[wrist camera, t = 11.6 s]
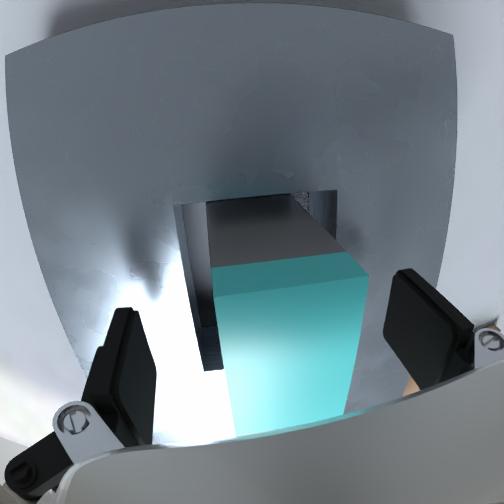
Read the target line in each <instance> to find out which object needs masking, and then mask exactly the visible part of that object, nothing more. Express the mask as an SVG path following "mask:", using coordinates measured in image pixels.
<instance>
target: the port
mask: <svg viewBox="0 0 504 504" xmlns="http://www.w3.org/2000/svg"><path fill="white" fill-rule="evenodd" d="M5 79H6V98H7V111H8V122H9V131H10V139H11V146H12V153H13V159H14V165H15V170H16V176H17V181H18V186H19V191H20V195H21V200H22V204H23V208H24V212H25V216H26V220H27V224H28V228H29V232H30V235H31V239H32V242H33V246H34V249H35V252H36V255H37V259H38V262H39V265H40V268H41V271H42V274H43V277H44V280H45V282H46V285H47V288H48V291H49V293H50V296H51V299H52V301H53V304H54V306H55V309H56V311H57V314H58V316H59V319H60V321H61V323H62V326H63V328H64V330H65V333H66V335H67V337H68V339H69V342H70V344H71V346H72V348H73V350H74V352H75V355H76V357H77V359H78V361H79V363H80V365H81V367H82V369H83V371H84V373H85V375H86V377H87V378H88V375H89V372H90V368H91V365H92V362H93V359H94V356H95V353H96V350H97V348H98V347H99V346H103V344H104V341H105V338H106V335H107V332H108V329H109V326H110V323H111V320H112V317H113V314H114V311H115V309H116V308H121V307H132V308H133V310H138V311H139V314H140V317H141V321H142V324H143V327H144V331H145V334H146V337H147V340H148V343H149V346H150V349H151V352H152V355H153V358H154V361H155V364H156V368H157V384H156V396H155V409H154V424H153V441H152V444H163V443H176V442H189V441H199V440H208V439H217V438H225V437H233V436H241V435H235V429H234V424H233V418H232V413H231V407H230V401H229V395H228V389H227V383H226V377H225V371H224V365H223V358H222V352H221V345H220V339H219V332H218V326H211V327H203V328H202V327H201V322H200V317H199V311H198V306H197V300H196V294H195V289H194V283H193V277H192V271H191V265H190V258H189V252H188V245H187V239H186V232H185V225H184V218H183V211H182V204H189V203H197V202H205V201H214V200H223V199H232V198H242V197H252V196H262V195H273V194H284V193H296V192H309V214H310V215H311V216H312V217H313V218H314V219H315V220H316V221H317V222H318V223H319V224H320V225H321V226H322V227H323V228H324V229H325V230H326V231H327V232H328V233H329V234H330V235H331V236H332V237H333V238H334V239H335V240H336V241H337V242H338V243H339V244H340V245H341V246H342V247H343V248H344V249H345V250H346V251H347V252H348V253H349V254H350V255H351V256H352V258H353V259H354V260H355V261H356V262H357V263H358V264H359V265H360V266H361V267H362V268H363V269H364V270H365V271H366V272H367V273H368V275H369V281H368V289H367V296H366V302H365V309H364V315H363V321H362V327H361V333H360V338H359V344H358V349H357V354H356V359H355V364H354V369H353V374H352V378H351V383H350V387H349V392H348V396H347V400H346V404H345V409H344V413H343V415H344V414H348V413H352V412H355V411H359V410H362V409H366V408H369V407H373V406H376V405H379V404H382V403H385V402H388V401H392V400H395V399H398V398H401V397H402V395H403V393H404V390H405V388H406V385H407V382H408V380H409V377H410V374H409V373H408V371H407V370H406V368H405V367H404V365H403V364H402V363H401V361H400V360H399V358H398V357H397V356H396V354H395V353H394V351H393V350H392V349H391V347H390V346H389V344H388V343H387V342H386V340H385V339H384V336H383V327H384V322H385V317H386V312H387V307H388V301H389V296H390V290H391V284H392V278H393V276H394V275H395V274H396V272H397V271H398V270H402V269H408V268H412V269H414V270H415V271H416V272H417V273H418V274H419V275H420V276H421V277H423V278H424V279H425V280H426V281H427V282H428V283H429V284H430V285H432V286H433V287H434V288H435V289H436V286H437V282H438V277H439V273H440V268H441V263H442V258H443V253H444V248H445V242H446V236H447V230H448V224H449V217H450V210H451V202H452V194H453V185H454V174H455V161H456V144H457V78H456V61H455V49H454V39H453V35H451V34H448V33H445V32H442V31H439V30H436V29H432V28H429V27H426V26H422V25H419V24H415V23H411V22H407V21H403V20H399V19H395V18H390V17H386V16H381V15H376V14H371V13H365V12H359V11H353V10H347V9H339V8H332V7H323V6H313V5H300V4H283V3H228V4H210V5H198V6H188V7H179V8H171V9H164V10H158V11H151V12H146V13H140V14H135V15H130V16H125V17H120V18H116V19H112V20H107V21H103V22H100V23H96V24H92V25H88V26H85V27H81V28H78V29H75V30H71V31H68V32H65V33H62V34H59V35H56V36H53V37H50V38H48V39H45V40H42V41H39V42H37V43H34V44H32V45H29V46H27V47H24V48H22V49H19V50H17V51H15V52H12V53H10V54H8V55H6V56H5ZM340 416H341V415H340ZM336 417H337V416H336ZM332 418H333V417H332ZM328 419H329V418H328ZM324 420H325V419H324ZM320 421H321V420H320ZM315 422H316V421H315ZM311 423H312V422H311ZM306 424H307V423H306ZM302 425H303V424H302ZM297 426H298V425H297ZM292 427H293V426H292ZM287 428H288V427H287ZM281 429H283V428H281ZM276 430H278V429H276ZM270 431H272V430H270ZM264 432H267V431H264ZM257 433H261V432H257ZM251 434H254V433H251ZM244 435H248V434H244Z"/></svg>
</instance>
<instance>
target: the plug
mask: <svg viewBox="0 0 504 504" xmlns="http://www.w3.org/2000/svg"><path fill="white" fill-rule="evenodd" d="M206 213H207V227H208V240H209V252H210V264H211V275H212V286H213V297H214V304H215V311H216V318H217V325H218V332H219V339H220V345H221V352H222V358H223V365H224V371H225V377H226V383H227V389H228V395H229V401H230V407H231V413H232V418H233V424H234V429H235V435H244V434H251V433H257V432H264V431H270V430H276V429H281V428H287V427H292V426H297V425H302V424H306V423H311V422H315V421H320V420H324V419H328V418H332V417H336V416H340V415H343V413H344V409H345V404H346V400H347V396H348V392H349V387H350V383H351V378H352V374H353V369H354V364H355V359H356V354H357V349H358V344H359V338H360V333H361V327H362V321H363V315H364V309H365V302H366V296H367V289H368V281H369V275H368V273H367V272H366V271H365V270H364V269H363V268H362V267H361V266H360V265H359V264H358V263H357V262H356V261H355V260H354V259H353V258H352V256H351V255H350V254H349V253H348V252H347V251H346V250H345V249H344V248H343V247H342V246H341V245H340V244H339V243H338V242H337V241H336V240H335V239H334V238H333V237H332V236H331V235H330V234H329V233H328V232H327V231H326V230H325V229H324V228H323V227H322V226H321V225H320V224H319V223H318V222H317V221H316V220H315V219H314V218H313V217H312V216H311V215H310V214H309V213H308V212H307V211H306V210H305V209H304V208H303V207H302V206H301V205H300V204H299V203H298V202H297V201H296V200H295V199H294V198H293V197H292V196H291V195H288V196H276V197H265V198H254V199H243V200H233V201H223V202H214V203H206Z"/></svg>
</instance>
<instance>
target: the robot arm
mask: <svg viewBox="0 0 504 504" xmlns="http://www.w3.org/2000/svg"><path fill="white" fill-rule="evenodd" d="M473 328H474V325H473V324H472V323H471V322H470V321H469V320H468V319H467V318H466V317H465V316H464V315H463V314H462V313H461V312H460V311H459V310H458V309H457V308H455V307H454V306H453V305H452V304H451V303H450V302H449V301H448V300H447V299H446V298H445V297H444V296H443V295H441V294H440V293H439V292H438V291H437V290H436V289H435V288H434V287H433V286H432V285H430V284H429V283H428V282H427V281H426V280H425V279H424V278H423V277H421V276H420V275H419V274H418V273H417V272H416V271H415V270H414V269H412V268H408V269H402V270H398V271H397V272H396V274H395V275H394V276H393V278H392V284H391V290H390V296H389V301H388V307H387V312H386V317H385V322H384V327H383V336H384V339H385V340H386V342H387V343H388V344H389V346H390V347H391V349H392V350H393V351H394V353H395V354H396V356H397V357H398V358H399V360H400V361H401V363H402V364H403V365H404V367H405V368H406V370H407V371H408V373H409V374H410V375H411V377H412V378H413V380H414V381H415V383H416V384H417V386H418V387H419V388H420V391H418V392H415V393H412V394H409V395H406V396H403V397H401V398H398V399H395V400H392V401H388V402H385V403H382V404H379V405H376V406H373V407H369V408H366V409H362V410H359V411H355V412H352V413H348V414H344V415H341V416H337V417H333V418H329V419H325V420H321V421H316V422H312V423H307V424H303V425H298V426H293V427H288V428H283V429H278V430H272V431H267V432H261V433H254V434H248V435H241V436H233V437H225V438H217V439H208V440H199V441H189V442H176V443H163V444H152V441H153V424H154V409H155V396H156V384H157V368H156V364H155V361H154V358H153V355H152V352H151V349H150V346H149V343H148V340H147V337H146V334H145V331H144V327H143V324H142V321H141V317H140V314H139V311H138V310H133V308H132V307H121V308H116V309H115V311H114V314H113V317H112V320H111V323H110V326H109V329H108V332H107V335H106V338H105V341H104V344H103V346H99V347H98V348H97V350H96V353H95V356H94V359H93V362H92V365H91V368H90V372H89V375H88V378H87V381H86V385H85V388H84V392H83V395H82V399H81V401H74V402H69V403H67V404H65V405H63V406H62V407H61V408H59V409H58V411H57V412H56V413H55V415H54V418H53V428H54V432H52V433H51V434H49V435H48V436H46V437H45V438H43V439H42V440H40V441H39V442H37V443H36V444H34V445H33V446H31V447H29V448H28V449H27V450H25V451H23V452H22V453H20V454H19V455H17V456H16V457H15V458H13V459H12V460H11V461H10V462H9V463H8V465H7V466H6V469H5V481H6V482H5V483H4V484H3V486H2V485H1V484H0V504H504V335H503V334H502V333H500V332H498V331H497V330H494V329H491V328H483V329H480V330H478V331H477V332H476V333H475V334H474V333H473V332H472V331H473Z"/></svg>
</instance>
